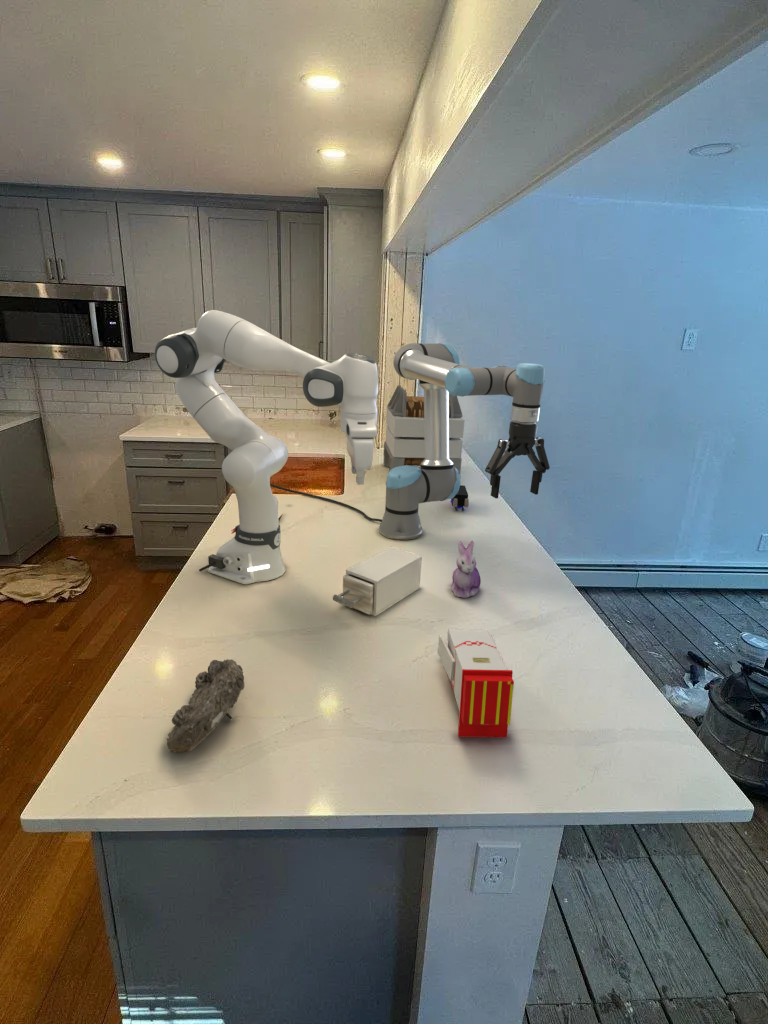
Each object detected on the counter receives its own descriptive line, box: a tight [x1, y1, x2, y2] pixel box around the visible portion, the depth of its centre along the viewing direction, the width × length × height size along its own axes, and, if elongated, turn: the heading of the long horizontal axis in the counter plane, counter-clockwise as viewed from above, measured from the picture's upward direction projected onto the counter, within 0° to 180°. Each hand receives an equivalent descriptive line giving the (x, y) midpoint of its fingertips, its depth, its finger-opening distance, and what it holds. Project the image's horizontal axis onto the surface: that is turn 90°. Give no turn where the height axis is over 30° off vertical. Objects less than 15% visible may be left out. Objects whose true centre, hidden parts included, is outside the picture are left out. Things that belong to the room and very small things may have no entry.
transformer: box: [383, 384, 465, 476], centre depth 268 cm, size 34×33×41 cm
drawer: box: [332, 574, 374, 616], centre depth 151 cm, size 25×9×8 cm, turn 143°
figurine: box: [450, 540, 482, 599], centre depth 158 cm, size 9×10×15 cm
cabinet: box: [345, 545, 423, 617], centre depth 155 cm, size 21×10×10 cm, turn 143°
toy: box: [437, 628, 515, 738], centre depth 117 cm, size 12×13×30 cm
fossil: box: [166, 658, 245, 754], centre depth 106 cm, size 22×10×15 cm
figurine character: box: [449, 484, 470, 512], centre depth 229 cm, size 7×8×15 cm
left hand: (357, 478), depth 142 cm, fingers open, 8 cm apart
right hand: (514, 495), depth 163 cm, fingers open, 13 cm apart
